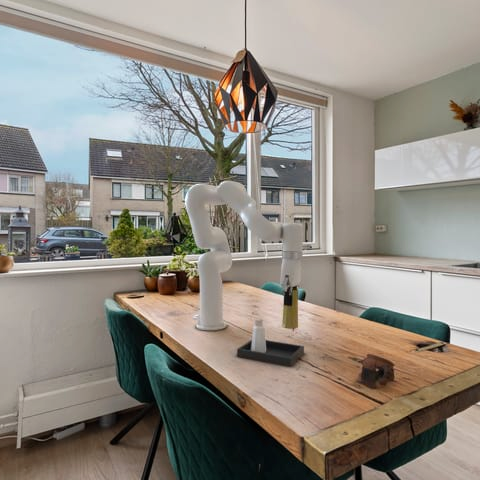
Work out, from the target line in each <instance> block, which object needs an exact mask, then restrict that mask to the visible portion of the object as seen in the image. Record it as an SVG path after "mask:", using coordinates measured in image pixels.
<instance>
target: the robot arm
mask: <svg viewBox="0 0 480 480" xmlns="http://www.w3.org/2000/svg"><path fill="white" fill-rule="evenodd" d="M184 205H185V209H186V212H187V215H188V218H189V222H190V227H191V231H192V234H193V239H194V242H195V246H196V247H197V248H199V249H200V250H210V251H207V252H204V253H202V254H201V255H200V256H199V257H198V259H197V264H196V265H197V271H198V277H199V278H198V279H199V314H196V313H195V314H194V315H193V317H192V320H193V321H197V323H196V324H195V325H196V328H197V329H198V330H200V331H220V330H223V329H225V328H226V327H227V322H226V321H224V320H223V319H224V313H223V312H224V311H223V309H224V308H223V303H224V300H223V299H224V298H223V297H224V295H223V294H224V293H223V292H224V288H223V287H224V286H223V285H224V284H223V279H222V276H221V273H225V272H228V271H229V270H230V269H231V267H232V265H233V256H232V252H231V248H230V244H229V239H228V237H227V234H226V232H225V231H224V230H223V229H222V228H221V227H219V226H213V224H212V219H211V216H210V213H209V212H208V210H207V208H206V207H205V205H207V206H223V205H224V206H225V205H227V206H228V207H229V208H230V209H231V210H233V211H234V212H235V213H236V214H237V215H239V217H240V218H241V220H242V222H243V223H244V224H243V225H245V227H246V228H247V229H248V230H249V231H250V232H251V233H252V234H253V235H254V236H255V237H257V238H258V239H259V240H260V241H263V242H266V243H271V242H272V243H273V242H281V241H282V250H281V252H282V253H281V260H282V262H281V267H280V268H281V269H280V280H279V281H280V282H279V284H280V285H279V286H280V287H282V290H283V305H286V306H292V296H293V295H292V288H295V289H298V290H299V285H300V284H301V281H302V280H301V279H302V264H301V261H303V253H304V251H303V250H304V249H303V247H304V225H303V224H302V223H300V222H282V221H270V220H268V219H267V218H266V217H265V216H264V215H263V214H262V213H260V211H259V210H258V209H257V201H256V200H255V199H254V198H253V197H252V196H250V195H249V194H248V191H247V188H246V186H245V185H243V183H241V182H238V181H234V180H233V181H232V180H224V181H222V182H220V183H219V184H218V185H212V184H208V183H196V184H193V185H192V186H191V187H189V189H188V190H187V192H186V194H185V197H184ZM288 288H290V291H289V289H288Z"/></svg>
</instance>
